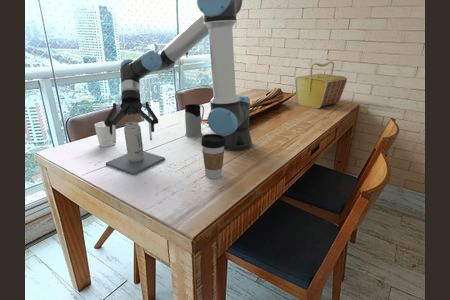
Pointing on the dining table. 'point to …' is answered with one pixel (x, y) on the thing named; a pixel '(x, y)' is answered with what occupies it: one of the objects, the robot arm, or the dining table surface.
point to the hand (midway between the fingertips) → (132, 140)
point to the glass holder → (193, 120)
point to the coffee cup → (213, 154)
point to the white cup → (104, 135)
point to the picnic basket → (319, 88)
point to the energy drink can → (134, 141)
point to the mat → (135, 163)
